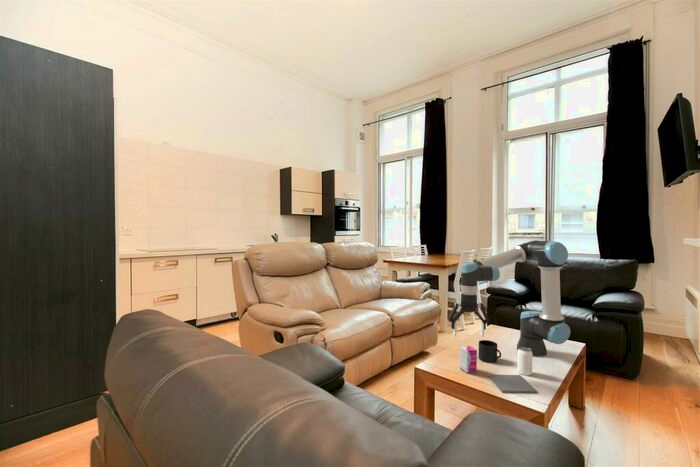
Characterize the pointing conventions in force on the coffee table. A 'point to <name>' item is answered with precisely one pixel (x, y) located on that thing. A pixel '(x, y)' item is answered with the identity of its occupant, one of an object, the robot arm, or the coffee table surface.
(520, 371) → the can
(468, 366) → the supplement box
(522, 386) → the mat
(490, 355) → the mug
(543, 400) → the coffee table surface
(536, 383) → the coffee table surface
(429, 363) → the coffee table surface
